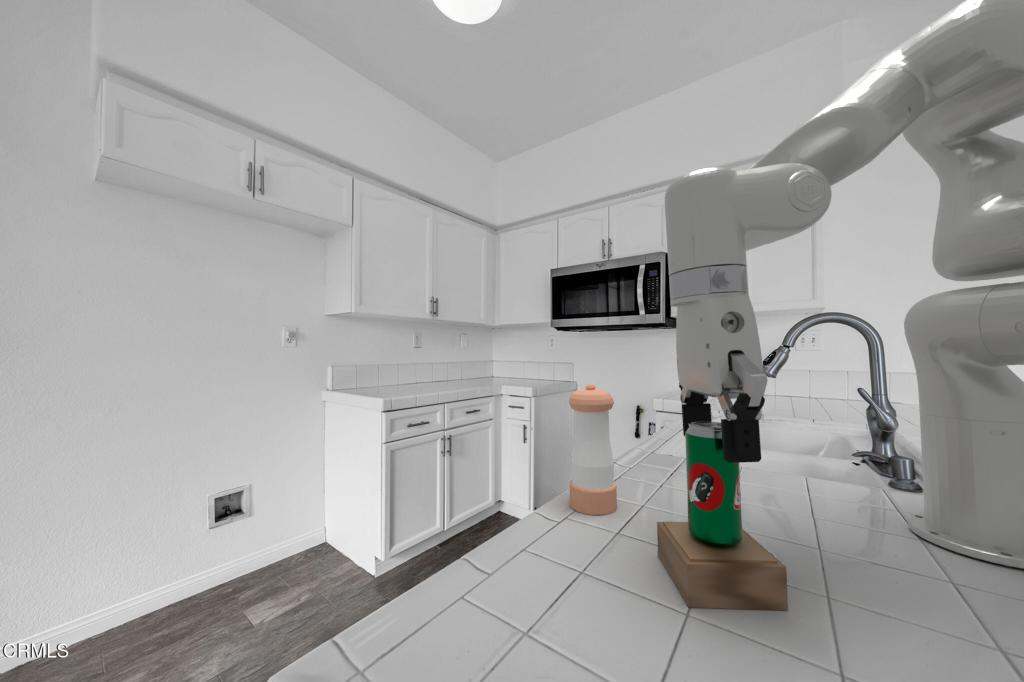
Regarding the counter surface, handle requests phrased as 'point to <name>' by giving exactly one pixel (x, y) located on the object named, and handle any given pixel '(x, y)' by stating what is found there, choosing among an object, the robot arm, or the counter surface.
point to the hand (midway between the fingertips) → (717, 447)
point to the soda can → (712, 488)
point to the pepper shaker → (592, 453)
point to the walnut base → (722, 571)
